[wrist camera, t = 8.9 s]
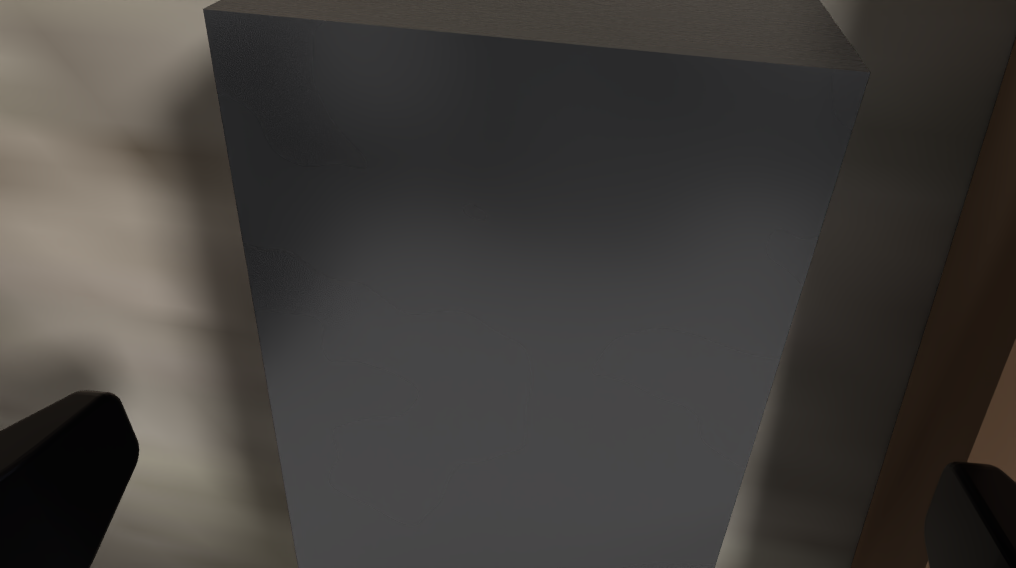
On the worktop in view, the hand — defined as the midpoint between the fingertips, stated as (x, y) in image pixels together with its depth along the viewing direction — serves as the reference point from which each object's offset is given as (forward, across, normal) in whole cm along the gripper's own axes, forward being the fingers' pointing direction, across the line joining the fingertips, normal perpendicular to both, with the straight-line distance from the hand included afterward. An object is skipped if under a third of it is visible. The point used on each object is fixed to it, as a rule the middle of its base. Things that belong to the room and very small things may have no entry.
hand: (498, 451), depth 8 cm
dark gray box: (+3, 0, 0) cm, 3 cm away
